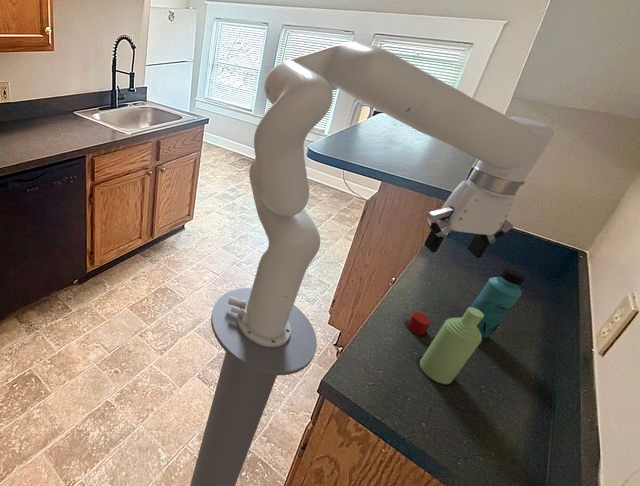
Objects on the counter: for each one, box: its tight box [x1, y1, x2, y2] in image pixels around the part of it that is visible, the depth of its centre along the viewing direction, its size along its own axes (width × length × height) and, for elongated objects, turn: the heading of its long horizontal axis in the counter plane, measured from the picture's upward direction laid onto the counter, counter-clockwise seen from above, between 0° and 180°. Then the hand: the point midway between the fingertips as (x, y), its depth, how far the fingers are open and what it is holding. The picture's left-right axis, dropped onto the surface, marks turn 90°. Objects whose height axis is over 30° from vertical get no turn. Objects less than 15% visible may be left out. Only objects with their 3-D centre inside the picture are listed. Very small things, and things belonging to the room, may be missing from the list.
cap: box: [406, 311, 432, 336], centre depth 95 cm, size 4×4×4 cm
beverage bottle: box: [469, 266, 526, 338], centre depth 92 cm, size 6×7×20 cm
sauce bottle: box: [419, 306, 484, 385], centre depth 81 cm, size 6×6×18 cm
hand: (451, 251), depth 82 cm, fingers open, 9 cm apart
